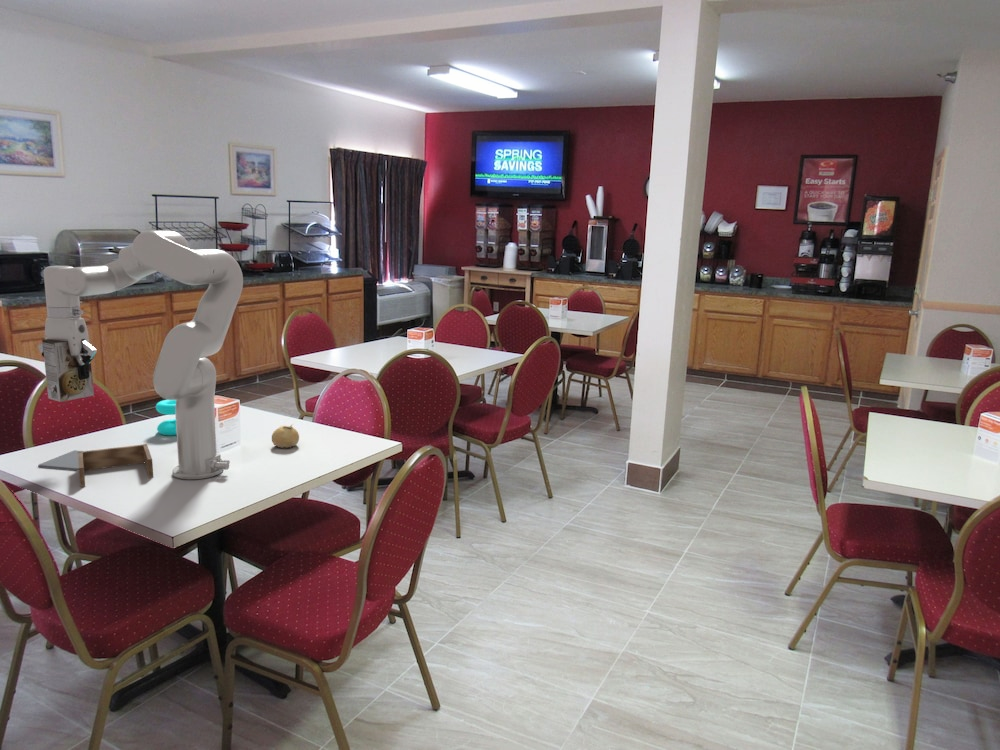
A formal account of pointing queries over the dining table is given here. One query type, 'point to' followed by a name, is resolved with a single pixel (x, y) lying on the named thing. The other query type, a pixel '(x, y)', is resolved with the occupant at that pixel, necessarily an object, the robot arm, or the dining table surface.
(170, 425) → the donuts
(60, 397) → the coffee box
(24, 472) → the dining table surface
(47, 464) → the charcoal mat
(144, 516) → the dining table surface
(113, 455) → the walnut cubby
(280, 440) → the onion
